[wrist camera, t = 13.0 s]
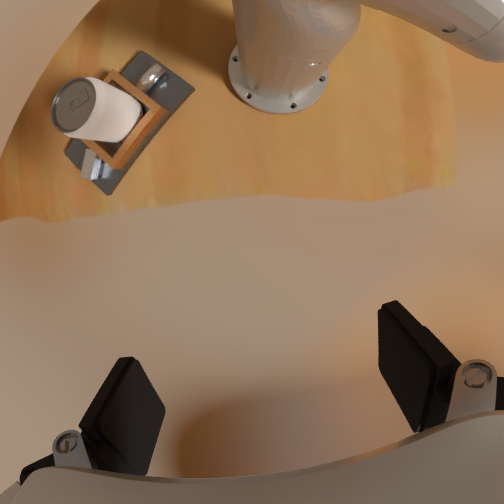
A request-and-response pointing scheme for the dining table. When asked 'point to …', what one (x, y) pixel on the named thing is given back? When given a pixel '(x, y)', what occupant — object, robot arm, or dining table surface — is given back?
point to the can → (95, 111)
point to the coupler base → (154, 117)
